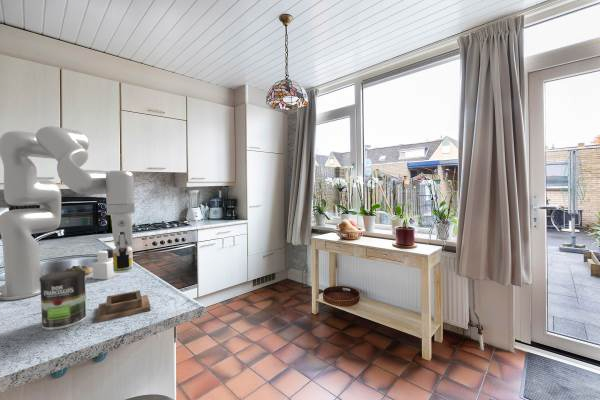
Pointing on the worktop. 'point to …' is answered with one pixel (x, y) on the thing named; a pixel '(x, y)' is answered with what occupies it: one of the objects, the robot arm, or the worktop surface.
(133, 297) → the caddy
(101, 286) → the worktop surface
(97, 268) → the medicine bottle
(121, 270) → the supplement bottle
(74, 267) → the bread roll
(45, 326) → the coffee can
